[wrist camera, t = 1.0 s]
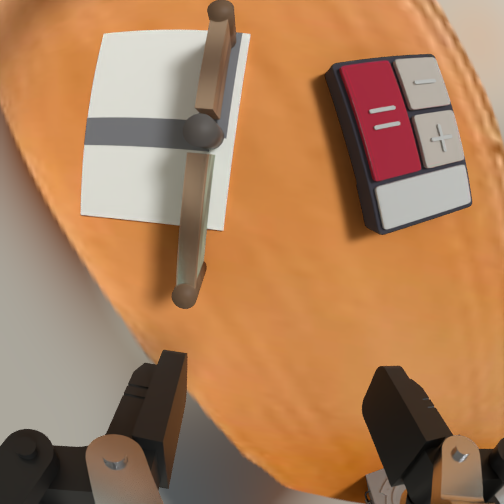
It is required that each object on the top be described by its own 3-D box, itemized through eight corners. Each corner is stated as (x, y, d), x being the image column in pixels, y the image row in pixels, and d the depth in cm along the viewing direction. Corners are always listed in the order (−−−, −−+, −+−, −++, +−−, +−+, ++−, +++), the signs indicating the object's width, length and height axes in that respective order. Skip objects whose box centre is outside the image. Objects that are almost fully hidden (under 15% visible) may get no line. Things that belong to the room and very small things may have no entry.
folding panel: (197, 152, 25) (182, 151, 19) (218, 155, 25) (210, 154, 19) (186, 275, 28) (171, 306, 22) (205, 277, 28) (195, 310, 22)
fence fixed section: (215, 33, 23) (206, -3, 16) (240, 35, 23) (238, -1, 16) (197, 148, 26) (180, 145, 19) (222, 150, 26) (214, 148, 19)
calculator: (438, 51, 20) (478, 207, 24) (417, 63, 24) (453, 201, 28) (332, 60, 21) (382, 238, 24) (321, 75, 25) (365, 229, 28)
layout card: (105, 34, 22) (103, 33, 22) (250, 35, 23) (250, 33, 22) (82, 214, 27) (80, 214, 27) (223, 229, 28) (223, 230, 28)
